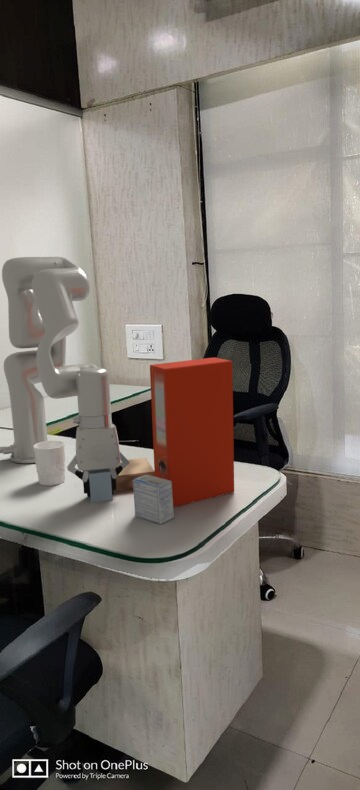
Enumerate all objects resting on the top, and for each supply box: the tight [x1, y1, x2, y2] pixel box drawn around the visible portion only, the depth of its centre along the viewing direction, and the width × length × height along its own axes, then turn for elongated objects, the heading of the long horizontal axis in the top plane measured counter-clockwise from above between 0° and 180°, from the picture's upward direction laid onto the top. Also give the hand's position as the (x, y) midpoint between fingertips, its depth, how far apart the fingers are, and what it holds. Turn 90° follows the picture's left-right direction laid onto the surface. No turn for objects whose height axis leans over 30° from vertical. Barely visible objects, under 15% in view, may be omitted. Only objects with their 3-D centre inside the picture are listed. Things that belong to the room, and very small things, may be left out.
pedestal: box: [114, 457, 155, 493], centre depth 157 cm, size 12×12×4 cm
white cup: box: [33, 440, 66, 487], centre depth 159 cm, size 8×8×10 cm
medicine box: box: [132, 475, 175, 525], centre depth 133 cm, size 8×4×9 cm, turn 48°
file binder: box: [149, 357, 235, 508], centre depth 143 cm, size 8×17×32 cm, turn 119°
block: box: [88, 469, 113, 503], centre depth 146 cm, size 5×5×7 cm
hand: (100, 493), depth 146 cm, fingers closed on block, 5 cm apart
